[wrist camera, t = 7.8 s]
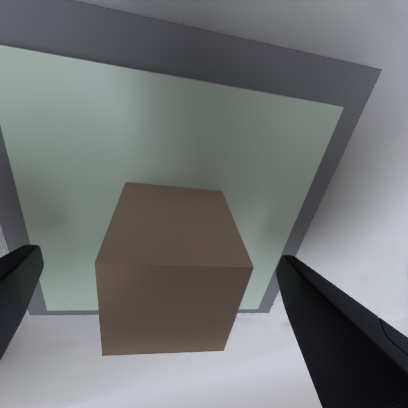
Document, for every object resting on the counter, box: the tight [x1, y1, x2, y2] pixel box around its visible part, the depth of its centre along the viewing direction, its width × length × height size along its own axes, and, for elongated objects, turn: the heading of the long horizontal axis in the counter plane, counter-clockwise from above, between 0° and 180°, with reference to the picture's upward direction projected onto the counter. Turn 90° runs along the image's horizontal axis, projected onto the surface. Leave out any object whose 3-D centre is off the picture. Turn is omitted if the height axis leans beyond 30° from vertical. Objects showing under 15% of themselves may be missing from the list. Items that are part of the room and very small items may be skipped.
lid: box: [0, 44, 344, 356], centre depth 9 cm, size 12×12×5 cm
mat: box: [0, 0, 382, 315], centre depth 12 cm, size 15×15×1 cm
